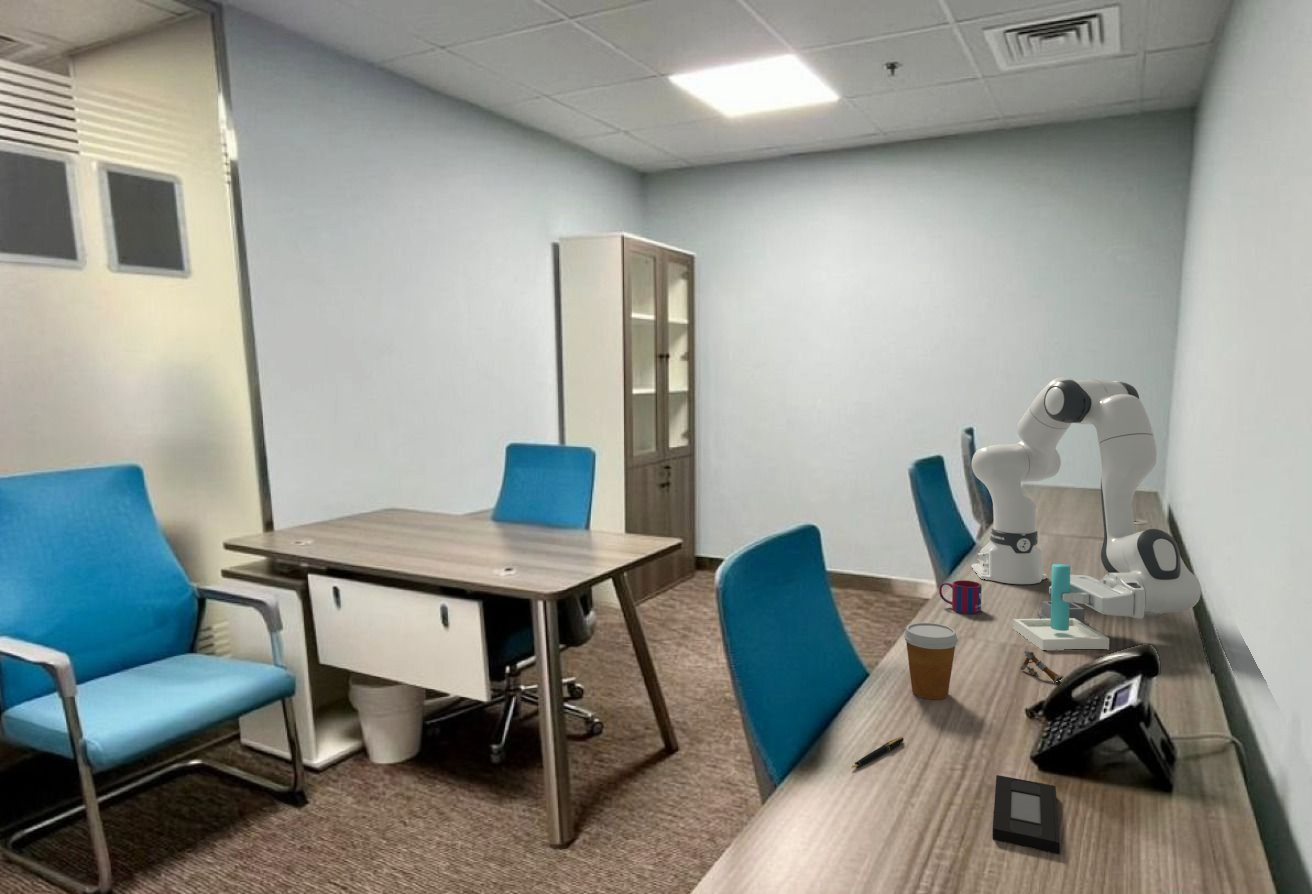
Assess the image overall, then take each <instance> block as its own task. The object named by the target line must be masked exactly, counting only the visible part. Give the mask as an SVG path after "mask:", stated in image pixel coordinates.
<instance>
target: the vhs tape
mask: <svg viewBox="0 0 1312 894" xmlns="http://www.w3.org/2000/svg"><path fill="white" fill-rule="evenodd" d="M993 802H994V805H993V816H992V817H993V818H992V840H994V841H997V842H998V841H999V842H1003V843H1006V844H1011V845H1017V846H1020V847H1024V848H1029V849H1034V850H1038V851H1043V852H1047V853H1048V852H1049V853H1052V854H1056V855H1060V848H1061V844H1060V829H1059V828H1060V827H1059V814H1058V802H1057V787H1056V785H1053V784H1049V783H1043V782H1037V781H1031V780H1027V779H1020V778H1017V777H1016V778H1015V777H1009V776H1003V775H1000V774H999V775H997V774H996V777H995V790H994V801H993Z"/></svg>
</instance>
